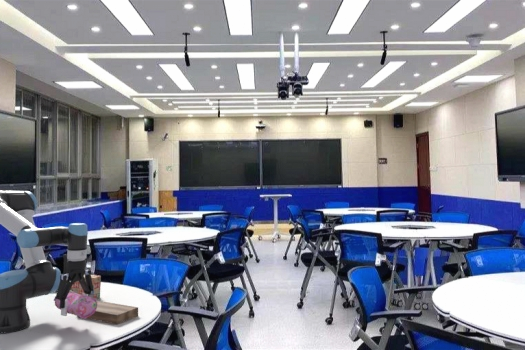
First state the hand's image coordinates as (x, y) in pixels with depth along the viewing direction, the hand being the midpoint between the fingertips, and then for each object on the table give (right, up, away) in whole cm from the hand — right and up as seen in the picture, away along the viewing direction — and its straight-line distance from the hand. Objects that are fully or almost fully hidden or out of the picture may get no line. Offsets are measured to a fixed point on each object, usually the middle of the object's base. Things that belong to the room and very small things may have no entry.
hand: (74, 312), depth 168 cm
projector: (-39, -10, +71) cm, 82 cm away
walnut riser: (+8, -7, +16) cm, 19 cm away
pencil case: (0, -1, 0) cm, 1 cm away
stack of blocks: (-20, -9, +47) cm, 52 cm away
